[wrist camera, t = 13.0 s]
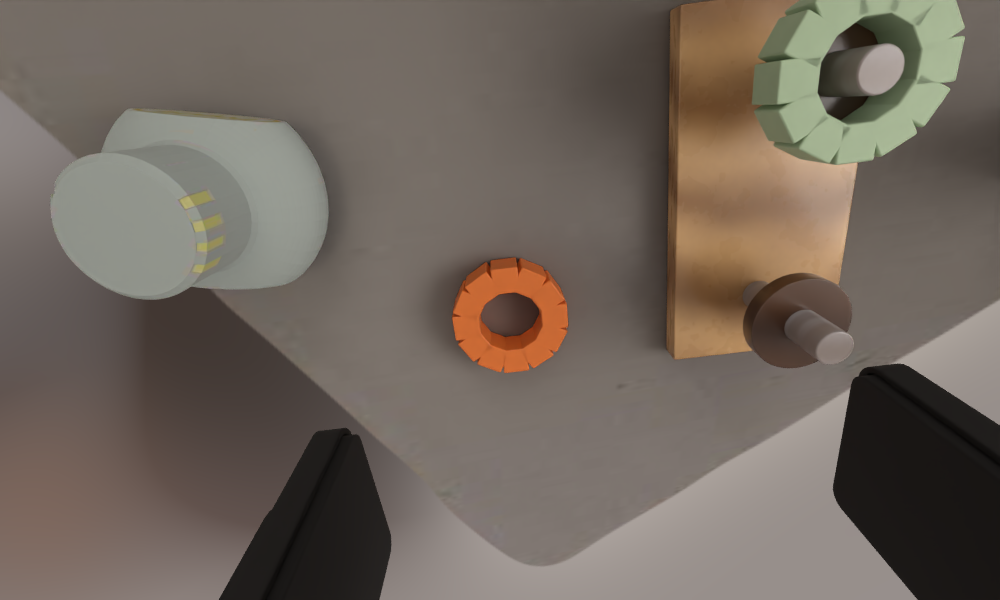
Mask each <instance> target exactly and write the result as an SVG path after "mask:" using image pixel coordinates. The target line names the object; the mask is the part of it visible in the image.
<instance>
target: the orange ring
mask: <svg viewBox="0 0 1000 600" xmlns="http://www.w3.org/2000/svg"><path fill="white" fill-rule="evenodd" d="M514 292H516V293H518V294H521V295H523V296H526V297H529V298H531V299H532V300H533V302H534V303H535V304H536V305H537V307H538V308H539V315H538V317H537V319H536V321H535V323H534V325H533V327H532V328H530V329H529V330H527V331H526V332H524V333H523V334H521V335H517V336H508V337H504V336H501V335H499V334H496V333H493V332H491V331H490V330H489V329H488V328H487V326H486V325H485V324H484V323H483V322H482V320H481V312H482V310H483V307H484V305H485V304H486V303H487V302H489V301H490V300H492V299H493V298H494V297H496V296H497V295H499V294H506V293H514ZM452 320H453V326H454V332H455V337H456V340H459V343H458V345H459V346H460V347H461V348H462V349H463V350H464V351H465V353H466V354H467V355H468V356H469V357H470V358H471V359H472V360H473V361H476V360H477V359H478V365H481V366H484V367H486V368H489V369H492V370H495V371H498V372H501V370H502V368H503V366H504V372H505V373H509V372H517V371H526V370H529V364H530V365H531V366H532V368H535V367H536V366H538V365H539V364H541V363H542V362H544V361H545V360H547V359H549V358H550V357H552V356H553V352H552V351H555V352H557V350H558V348H559V347H560V345H561V343H562V341H563V339H564V337H565V335H566V333H567V329H566V327H568V314H567V304H566V301H565V299H564V296H563V293H562V291H561V288H560V287H559V285H558V284H557V283H556V281H555V280H554V279H553V277H552V276H551V275H550V273H549V272H548V271H547V270H546V271H544V269H543V267H542V266H539V265H537V264H534V263H532V262H529V261H527V260H524V259H522V258H520V259H519V261H518V263H517V262H516V258H515V257H513V258H505V259H497V260H491V261H490V266H489V265H488V263H487V262H485V263H484V264H483V265H481V266H480V267H479V268H477V269H476V270H474V271H473V272H472V273H470V274H469V275H468V276H467V277H466V281H465V280H464V281H463V283H462V285H461V287H460V290H459V292H458V294H457V297H456V299H455V303H454V309H453V316H452Z"/></svg>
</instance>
